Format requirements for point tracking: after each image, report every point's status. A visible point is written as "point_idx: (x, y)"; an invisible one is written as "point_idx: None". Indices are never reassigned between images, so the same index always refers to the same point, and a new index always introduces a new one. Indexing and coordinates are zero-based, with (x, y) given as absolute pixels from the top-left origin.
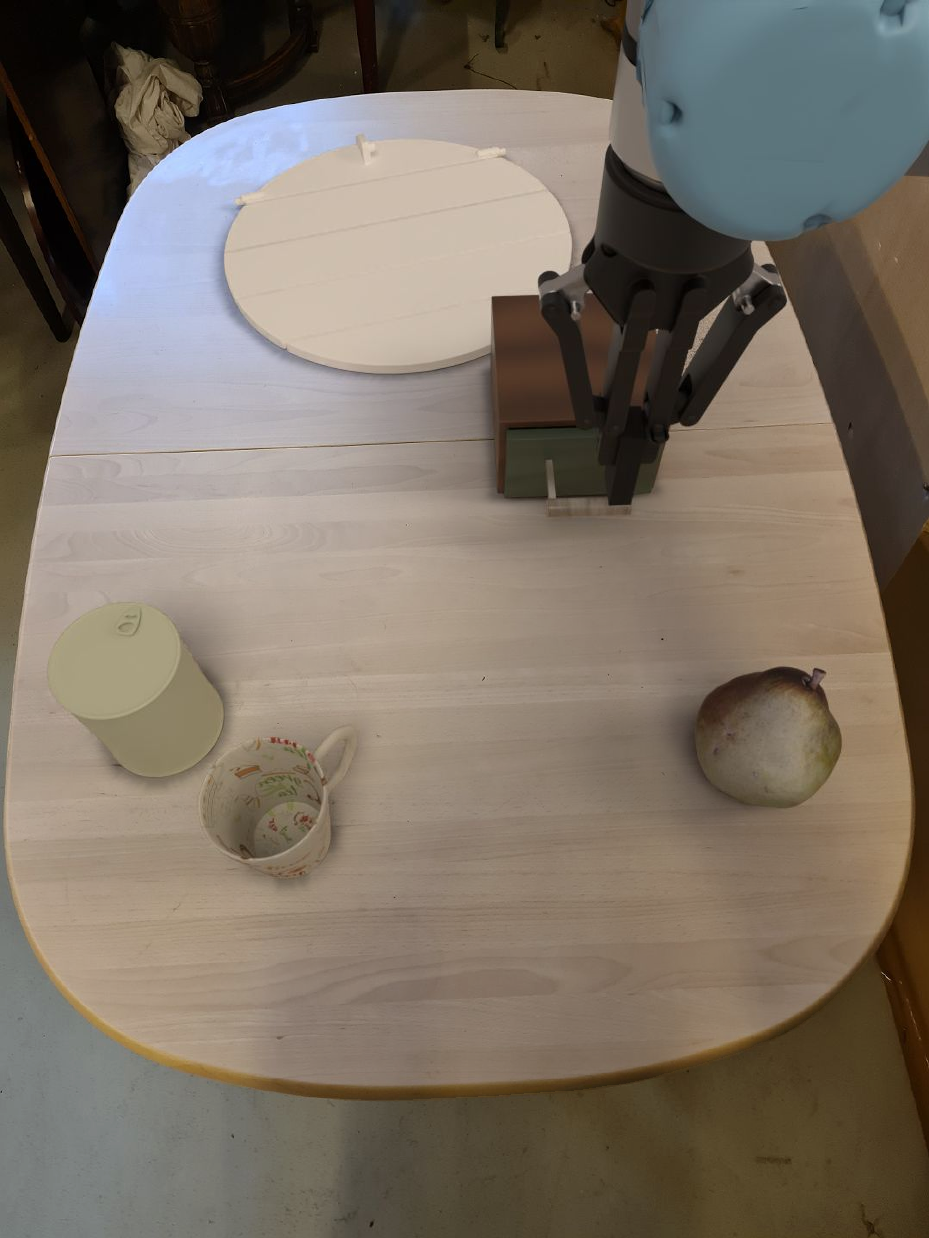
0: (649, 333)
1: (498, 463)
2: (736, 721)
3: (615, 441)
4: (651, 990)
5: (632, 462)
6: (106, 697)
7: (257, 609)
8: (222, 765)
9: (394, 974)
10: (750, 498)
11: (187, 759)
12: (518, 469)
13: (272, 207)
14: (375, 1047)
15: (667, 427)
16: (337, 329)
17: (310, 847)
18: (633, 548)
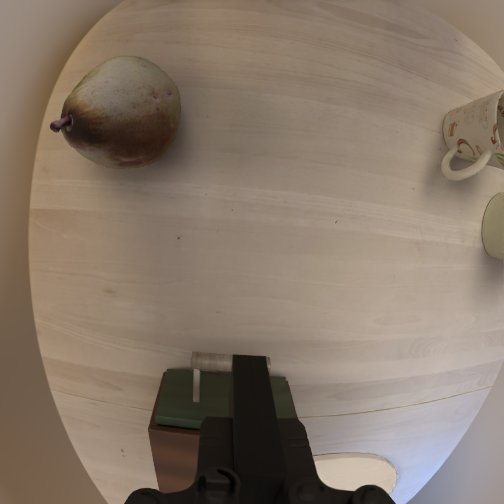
0: (162, 482)
1: (293, 403)
2: (145, 103)
3: (287, 463)
4: None
5: (251, 424)
6: None
7: (456, 296)
8: None
9: (409, 40)
10: (93, 350)
11: (501, 197)
12: (280, 398)
13: None
14: (415, 15)
15: (195, 494)
16: (355, 472)
17: (484, 98)
18: (187, 325)
